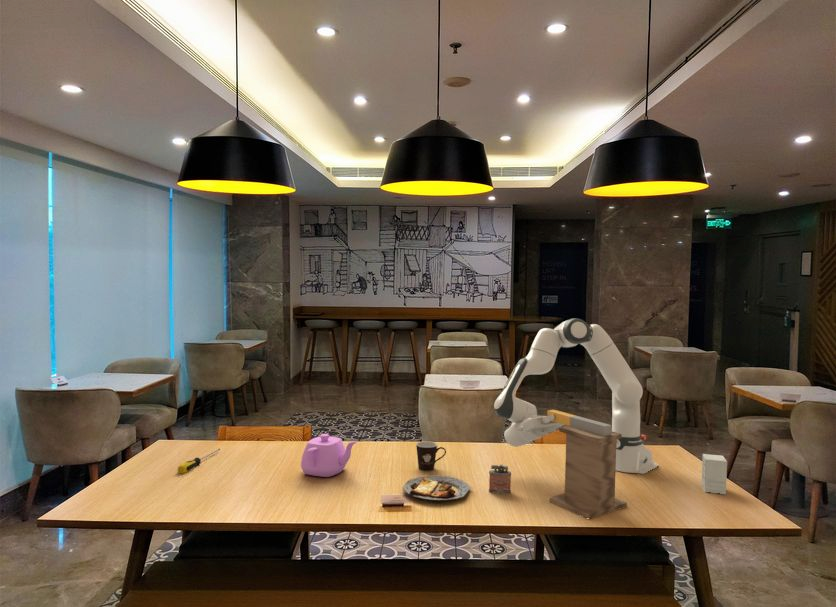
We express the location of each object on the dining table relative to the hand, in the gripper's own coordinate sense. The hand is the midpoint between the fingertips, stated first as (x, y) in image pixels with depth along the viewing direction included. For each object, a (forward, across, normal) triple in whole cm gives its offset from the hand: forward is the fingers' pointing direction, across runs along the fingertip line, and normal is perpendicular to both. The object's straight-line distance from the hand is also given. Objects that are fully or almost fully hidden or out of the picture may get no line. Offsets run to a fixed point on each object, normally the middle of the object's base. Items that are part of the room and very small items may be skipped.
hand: (559, 415), depth 207 cm
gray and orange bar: (+6, 0, +6) cm, 9 cm away
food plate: (-34, -39, +14) cm, 53 cm away
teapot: (-68, -65, -7) cm, 94 cm away
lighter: (-23, -19, +19) cm, 36 cm away
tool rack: (-2, 0, +32) cm, 32 cm away
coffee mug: (-52, -27, +2) cm, 59 cm away
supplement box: (+12, +52, +40) cm, 66 cm away
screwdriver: (-101, -104, -25) cm, 147 cm away
